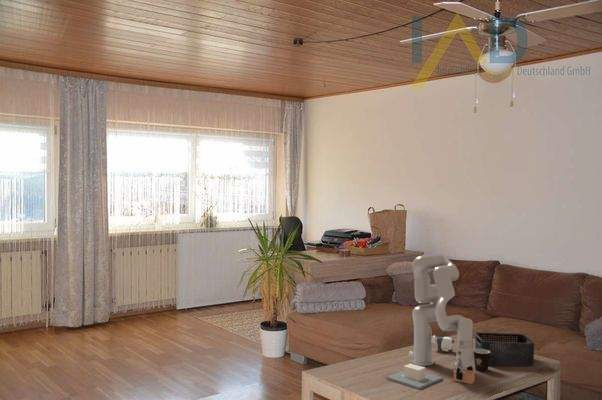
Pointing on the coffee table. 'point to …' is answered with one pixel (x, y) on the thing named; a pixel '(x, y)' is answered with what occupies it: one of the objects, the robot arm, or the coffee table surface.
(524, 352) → the storage bin
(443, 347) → the giant panda
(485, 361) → the coffee mug
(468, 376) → the terracotta block
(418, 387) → the build board
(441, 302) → the robot arm
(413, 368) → the cream block
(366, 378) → the coffee table surface
